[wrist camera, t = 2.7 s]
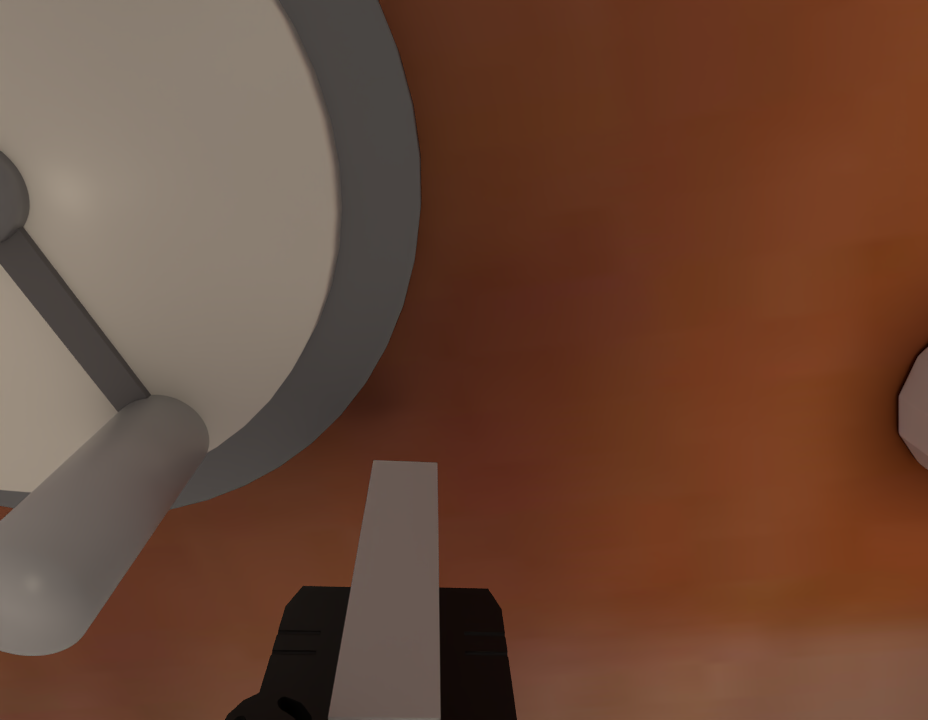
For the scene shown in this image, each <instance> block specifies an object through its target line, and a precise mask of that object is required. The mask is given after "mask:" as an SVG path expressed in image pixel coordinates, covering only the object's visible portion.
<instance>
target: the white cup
mask: <svg viewBox="0 0 928 720" xmlns="http://www.w3.org/2000/svg"><path fill="white" fill-rule="evenodd" d="M899 435H900V436H901V438H902V439H903V441H904V442H905V444H906V445H907V447H908V448H909V450H910V451H911V453H912V454H913V456H914V457H915V459H916V460H917V461H918V462H919V463H920V464H921V465H922V466H923V467H925V468H926V469H927V470H928V347H927V348H926V349H925V350H924V351H923V352H922V353H921V354H920V355H919V356H918V357H917V359H916V361H915V363H914V365H913V367H912V369H911V371H910V373H909V375H908V378H907V380H906V382H905V384H904V386H903V388H902V390H901V392H900V394H899Z"/></svg>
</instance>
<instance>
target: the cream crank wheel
mask: <svg viewBox="0 0 928 720" xmlns="http://www.w3.org/2000/svg"><path fill="white" fill-rule="evenodd" d="M341 214H342V200H341V185H340V170H339V161H338V156H337V150H336V145H335V140H334V135H333V129H332V124H331V119H330V116H329V113H328V110H327V107H326V104H325V100H324V97H323V94H322V91H321V88H320V85H319V82H318V78H317V75H316V73H315V70H314V68H313V66H312V64H311V62H310V59H309V57H308V55H307V53H306V51H305V48H304V46H303V44H302V42H301V39H300V37H299V35H298V33H297V31H296V28H295V27H294V25H293V23H292V22H291V20H290V18H289V16H288V15H287V13H286V11H285V10H284V8H283V6H282V5H281V3H280V1H279V0H0V490H7V491H19V492H31V493H30V494H29V495H28V496H27V497H26V498H25V499H24V500H23V501H22V502H20V503H19V504H18V505H17V506H16V507H15V508H14V509H13V510H12V511H11V512H10V513H9V514H7V515H6V516H5V517H4V518H3V519H2V520H1V521H0V651H3V652H7V653H11V654H17V655H26V656H40V655H48V654H53V653H57V652H59V651H62V650H65V649H67V648H69V647H71V646H72V645H73V644H75V643H76V642H78V641H79V640H80V639H81V638H82V636H83V635H84V634H85V632H86V631H87V629H88V628H89V626H90V625H91V624H92V622H93V621H94V619H95V618H96V616H97V615H98V613H99V612H100V610H101V609H102V607H103V606H104V604H105V603H106V601H107V600H108V599H109V597H110V596H111V594H112V593H113V591H114V590H115V588H116V587H117V585H118V584H119V582H120V581H121V579H122V578H123V577H124V575H125V574H126V572H127V571H128V569H129V568H130V566H131V565H132V563H133V562H134V560H135V559H136V557H137V556H138V555H139V553H140V552H141V550H142V549H143V547H144V546H145V544H146V543H147V541H148V540H149V538H150V537H151V535H152V534H153V532H154V531H155V530H156V528H157V527H158V525H159V524H160V522H161V521H162V519H163V518H164V516H165V515H166V513H167V512H168V510H169V509H170V508H171V506H172V505H173V503H174V502H175V500H176V499H177V497H178V496H179V494H180V493H181V491H182V490H183V488H184V487H185V485H186V484H187V483H188V481H189V480H190V478H191V477H192V475H193V474H194V472H195V471H196V469H197V468H198V466H199V465H200V463H201V462H202V461H203V459H204V458H205V456H206V454H207V452H209V451H211V450H213V449H214V448H216V447H218V446H219V445H220V444H222V443H223V442H224V441H226V440H227V439H228V438H229V437H231V436H232V435H233V434H235V433H236V432H237V431H239V430H240V429H241V428H243V427H244V426H245V425H246V424H247V423H248V422H249V421H250V420H251V419H252V418H253V417H254V416H255V415H256V414H257V413H258V412H259V411H260V410H261V409H262V408H263V407H264V406H265V405H266V404H267V403H268V402H269V401H270V400H271V398H272V397H273V396H274V394H275V393H276V391H277V390H278V389H279V387H280V386H281V385H282V383H283V382H284V380H285V379H286V378H287V376H288V375H289V374H290V372H291V371H292V369H293V367H294V366H295V364H296V362H297V360H298V359H299V357H300V355H301V353H302V352H303V350H304V348H305V346H306V344H307V342H308V340H309V338H310V336H311V335H312V333H313V331H314V329H315V327H316V325H317V323H318V321H319V319H320V317H321V314H322V311H323V308H324V305H325V302H326V300H327V297H328V294H329V291H330V288H331V285H332V281H333V276H334V271H335V266H336V261H337V256H338V251H339V245H340V229H341Z"/></svg>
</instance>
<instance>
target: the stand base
mask: <svg viewBox="0 0 928 720" xmlns="http://www.w3.org/2000/svg"><path fill="white" fill-rule="evenodd" d="M279 1H280V3H281V5H282V6H283V8H284V10H285V11H286V13H287V15H288V16H289V18H290V20H291V22H292V23H293V25H294V27H295V28H296V31H297V33H298V35H299V37H300V39H301V42H302V44H303V46H304V48H305V51H306V53H307V55H308V57H309V59H310V62H311V64H312V66H313V68H314V70H315V73H316V75H317V78H318V82H319V85H320V88H321V91H322V94H323V97H324V100H325V104H326V107H327V110H328V113H329V116H330V119H331V124H332V129H333V135H334V140H335V145H336V150H337V156H338V161H339V170H340V185H341V200H342V214H341V229H340V245H339V251H338V256H337V261H336V266H335V271H334V276H333V281H332V285H331V288H330V291H329V294H328V297H327V300H326V302H325V305H324V308H323V311H322V314H321V317H320V319H319V321H318V323H317V325H316V327H315V329H314V331H313V333H312V335H311V336H310V338H309V340H308V342H307V344H306V346H305V348H304V350H303V352H302V353H301V355H300V357H299V359H298V360H297V362H296V364H295V366H294V367H293V369H292V371H291V372H290V374H289V375H288V376H287V378H286V379H285V380H284V382H283V383H282V385H281V386H280V387H279V389H278V390H277V391H276V393H275V394H274V396H273V397H272V398H271V400H270V401H269V402H268V403H267V404H266V405H265V406H264V407H263V408H262V409H261V410H260V411H259V412H258V413H257V414H256V415H255V416H254V417H253V418H252V419H251V420H250V421H249V422H248V423H247V424H246V425H245V426H244V427H243V428H241V429H240V430H239V431H237V432H236V433H235V434H233V435H232V436H231V437H229V438H228V439H227V440H226V441H224V442H223V443H222V444H220V445H219V446H218V447H216V448H214V449H213V450H211V451H209V452H207V454H206V456H205V458H204V459H203V461H202V462H201V463H200V465H199V466H198V468H197V469H196V471H195V472H194V474H193V475H192V477H191V478H190V480H189V481H188V483H187V484H186V485H185V487H184V488H183V490H182V491H181V493H180V494H179V496H178V497H177V499H176V500H175V502H174V503H173V505H172V506H171V508H170V509H174V508H178V507H182V506H186V505H190V504H194V503H197V502H201V501H205V500H209V499H211V498H214V497H216V496H219V495H222V494H224V493H227V492H229V491H232V490H235V489H237V488H240V487H242V486H245V485H247V484H249V483H250V482H252V481H254V480H256V479H258V478H260V477H261V476H263V475H265V474H267V473H269V472H271V471H272V470H274V469H276V468H278V467H280V466H281V465H283V464H284V463H285V462H287V461H288V460H289V459H291V458H292V457H294V456H295V455H296V454H298V453H299V452H300V451H302V450H303V449H304V448H306V447H307V446H309V445H310V444H311V443H312V442H313V441H315V440H316V439H317V438H318V437H319V436H320V435H321V434H322V433H323V432H324V431H325V430H326V429H327V428H328V427H329V426H330V425H331V424H332V423H333V422H334V421H335V420H336V419H337V418H338V417H339V416H340V415H341V414H342V413H343V412H344V410H345V409H346V408H347V406H348V405H349V404H350V403H351V401H352V400H353V399H354V397H355V396H356V395H357V394H358V392H359V391H360V390H361V388H362V387H363V386H364V385H365V383H366V382H367V380H368V378H369V377H370V375H371V373H372V371H373V370H374V368H375V366H376V364H377V363H378V361H379V359H380V357H381V356H382V354H383V352H384V350H385V349H386V347H387V345H388V342H389V340H390V337H391V335H392V332H393V330H394V327H395V325H396V322H397V320H398V317H399V315H400V312H401V310H402V307H403V304H404V300H405V296H406V292H407V288H408V284H409V280H410V276H411V272H412V268H413V264H414V260H415V253H416V246H417V237H418V228H419V218H420V209H421V155H420V148H419V140H418V133H417V126H416V119H415V112H414V105H413V102H412V98H411V94H410V90H409V87H408V83H407V79H406V76H405V72H404V68H403V64H402V61H401V57H400V54H399V51H398V49H397V46H396V44H395V41H394V39H393V36H392V34H391V31H390V28H389V26H388V23H387V21H386V18H385V16H384V13H383V11H382V8H381V6H380V3H379V1H378V0H279ZM30 493H31V492H19V491H7V490H0V506H5V507H11V508H15V507H16V506H17V505H18V504H19V503H20V502H22V501H23V500H24V499H25V498H26V497H27V496H28V495H29V494H30ZM170 509H169V510H170Z"/></svg>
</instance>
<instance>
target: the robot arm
mask: <svg viewBox="0 0 928 720" xmlns="http://www.w3.org/2000/svg"><path fill="white" fill-rule="evenodd" d="M225 720H517V717H516V710H515V702H514V695H513V688H512V681H511V674H510V667H509V660H508V657H507V645H506V638H505V631H504V624H503V617H502V610H501V608H500V606H499V605H498V603H497V602H496V600H495V599H494V597H493V596H492V594H491V593H490V591H489V590H488V589H477V588H439V553H438V473H437V463H434V462H408V461H382V460H373V466H372V471H371V477H370V483H369V488H368V494H367V500H366V505H365V511H364V517H363V522H362V528H361V533H360V539H359V545H358V550H357V556H356V562H355V567H354V573H353V579H352V584H351V587H321V586H303V587H302V588H301V589H300V590H299V591H298V593H297V594H296V595H295V596H294V597H293V598H292V600H291V601H290V602H289V603H288V604H287V605H286V607H285V610H284V613H283V617H282V620H281V623H280V627H279V630H278V635H277V636H276V640H275V643H274V646H273V650H272V655H271V656H270V659H269V663H268V666H267V669H266V673H265V676H264V679H263V682H262V686H261V689H260V692H259V693H258V694H256V695H254V696H252V697H250V698H248V699H245V700H243V701H242V702H241V703H240V704H239V705H238V706H237V707H236V708H235V709H234V710H232V711H231V712H230V713H229V714H228V715H227V717H226V719H225Z"/></svg>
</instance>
